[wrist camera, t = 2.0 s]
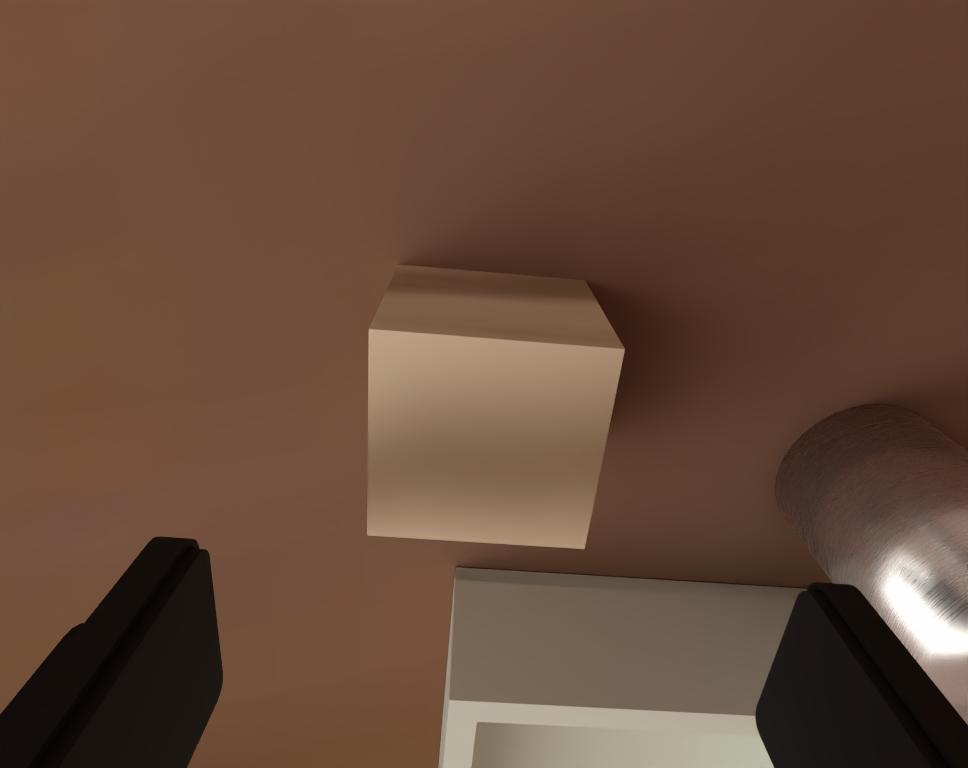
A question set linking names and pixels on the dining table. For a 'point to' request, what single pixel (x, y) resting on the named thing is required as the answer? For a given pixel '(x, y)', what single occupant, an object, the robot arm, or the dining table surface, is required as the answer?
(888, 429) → the steel cylinder
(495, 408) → the maple cube
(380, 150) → the dining table surface
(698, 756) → the tote
